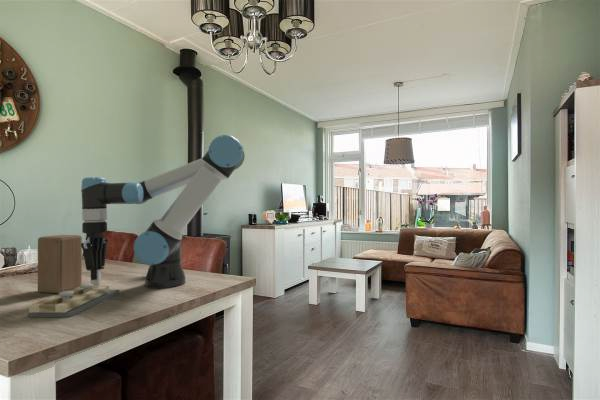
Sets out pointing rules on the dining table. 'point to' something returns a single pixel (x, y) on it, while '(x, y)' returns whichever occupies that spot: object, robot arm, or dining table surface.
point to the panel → (68, 300)
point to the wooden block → (59, 263)
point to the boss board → (78, 309)
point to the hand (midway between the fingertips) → (96, 288)
